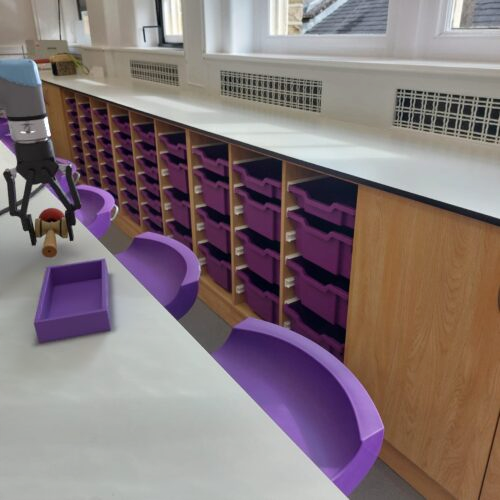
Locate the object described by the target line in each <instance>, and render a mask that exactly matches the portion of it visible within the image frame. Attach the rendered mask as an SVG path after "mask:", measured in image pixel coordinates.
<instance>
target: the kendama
mask: <svg viewBox="0 0 500 500" xmlns="http://www.w3.org/2000/svg"><path fill="white" fill-rule="evenodd" d="M34 230H35V236H36V239H41V238H42V237H43V236H45V237H44V241H43V245H42V249H41V254H42V256H44V257H45V258H48V259H52V258H54V257H56V256H57V254H58V247H57V236H59V237H60V238H62V239H69V234H68V229H67V224H66V219H65V213H64V212H63V211H61V210H60V209H59V208H56V207H48V208H46V209H45V208H44V210H42V211H41V212H40V214H39V215H38V218H35V220H34ZM56 235H57V236H56Z"/></svg>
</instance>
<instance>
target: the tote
mask: <svg viewBox="0 0 500 500" xmlns="http://www.w3.org/2000/svg"><path fill="white" fill-rule="evenodd" d="M110 301H111V300H110V276H109V271H108V264H107V259H106V258H99V259H92V260H85V261H79V262H73V263H65V264H58V265H51V266H46V268H45V272H44V277H43V281H42V286H41V290H40V294H39V299H38V303H37V306H36V312H35V316H34V321H33V326H34V329H35V334H36V337H37V341H38V344H44V343H48V342H54V341H59V340H66V339H70V338H71V339H72V338H77V337H82V336H87V335H92V334H98V333H102V332H103V333H104V332H109V331H111V329H112V327H111V325H112V324H111V302H110Z"/></svg>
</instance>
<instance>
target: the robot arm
mask: <svg viewBox="0 0 500 500" xmlns="http://www.w3.org/2000/svg"><path fill="white" fill-rule="evenodd" d="M46 109H47V108H46V105H45V98H44V92H43V81H42V80H41V77H40V74H39V68H38V66H37V63H36V62H35V61H34V60H33V59H32V58H18V59H17V58H8V59H7V58H6V59H0V111H5V116H6V118H7V124H8V128H9V129H8V130H9V133H10V138H11V139H12V140H13V143H12V146H13V150H14V156H15V160H16V165H15V167H13V168H5V170H4V171H3V172H2V176H3V178H4V180H5V181H6V189H7V200H8V206H7V207H4V208H2V209H0V215H2V214H4V213H6V212H7V211H9V212H8V213H9V216H10V217H17V218H19V219H20V222H21V227H22V230H23V232H28V235H29V239H30V244H31V247H35V246H36V245H37V243H38V240H37V239H38V238H36V236H35V224H34V222H33V221H34V220H33V217H32V214H31V213H28V208H29V203H30V200H31V197H33V196H34V195H35V194H37V192H39V191H40V190H41V189H43V187H45V186H46V185H49V187H50V188H52V190H53V192H54V193H55V195H56V196H57V197H58V199H59V201H60V202H61V204H62V205H63V207H64V208H65V210H64V215H65V219H66V224H67V229H68V239H69V242H74V240H75V234H74V229H73V227H75V226H77V225H76V224H77V219H76V211H78V210H81V208H82V205H83V204H82V200H81V197H80V194H79V191H78V188H77V185H76V181H75V179H74V175H73V164H72V163H71V162H70V163H59V161H58V160H57V158H56V153H55V148H54V143H53V140H52V139H51V136H52V134H51V129H50V123H49V122H50V121H49V117H48V114H47V110H46ZM58 170H60V171H61V174H62V175H65V181H66V183H67V186H68V189H69V193H70V195H71V198H72V201H73V203H72V201H71V200H70V199H69V197H68V195H67V194H66V192H65V190H64V188H62V185H60V182H59V181H58V179H57V177H56V174H57V173H58ZM17 174H18V175H20V176H21V177H22V178H23V179H24V180H25V185H24V190H23V194H22V195H23V196H22V198H21V199H19V200H17V188H16V178H17ZM36 185H39V186H37V187H36V188H35V189H34V190H33V186H36ZM32 190H33V191H32ZM20 204H21V206H20V209H19V208H18V206H19V205H20Z"/></svg>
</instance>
